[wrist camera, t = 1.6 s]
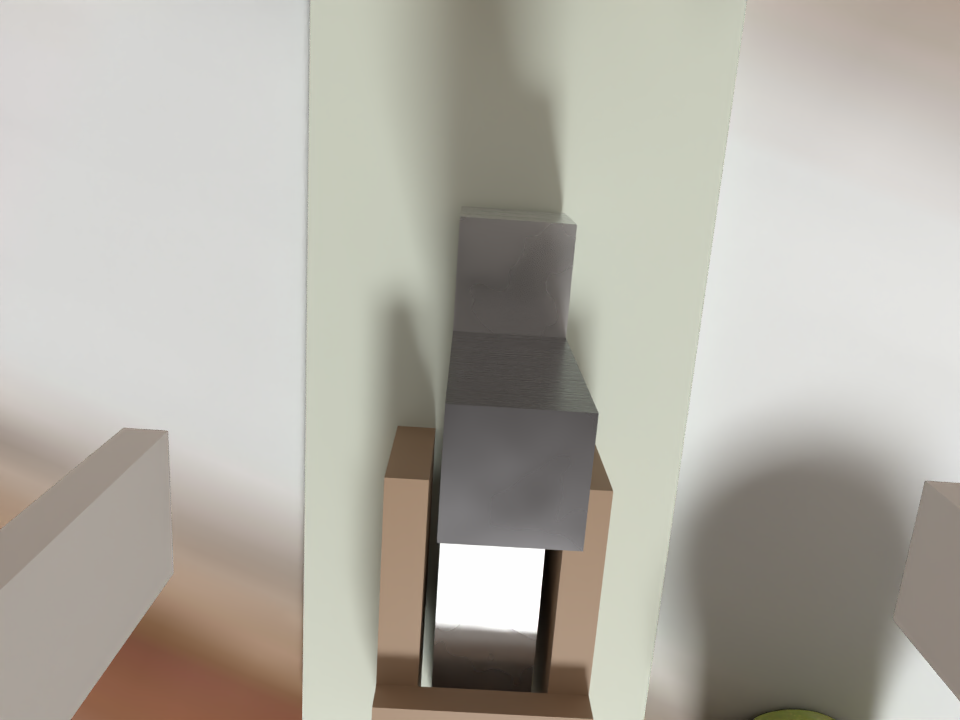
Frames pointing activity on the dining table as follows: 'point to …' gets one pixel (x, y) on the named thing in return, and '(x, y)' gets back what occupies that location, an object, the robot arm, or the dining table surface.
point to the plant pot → (793, 715)
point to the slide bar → (508, 445)
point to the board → (430, 316)
